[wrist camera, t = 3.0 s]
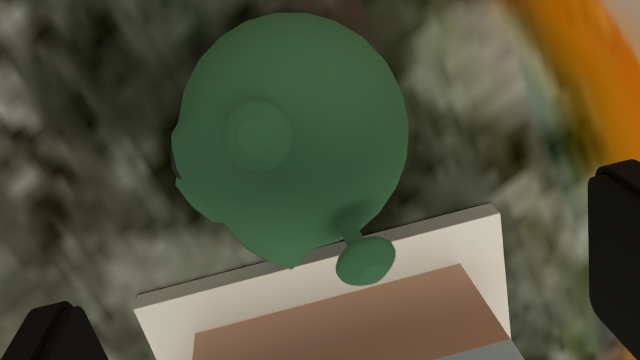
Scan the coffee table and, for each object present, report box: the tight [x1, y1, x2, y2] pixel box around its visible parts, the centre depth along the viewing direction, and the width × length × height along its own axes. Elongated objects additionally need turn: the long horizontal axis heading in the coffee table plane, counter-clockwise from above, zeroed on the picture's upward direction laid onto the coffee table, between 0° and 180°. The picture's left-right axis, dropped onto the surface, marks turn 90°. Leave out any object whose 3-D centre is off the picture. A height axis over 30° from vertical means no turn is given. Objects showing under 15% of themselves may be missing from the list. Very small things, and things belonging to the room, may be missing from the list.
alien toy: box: [171, 12, 409, 286], centre depth 17 cm, size 7×8×10 cm
